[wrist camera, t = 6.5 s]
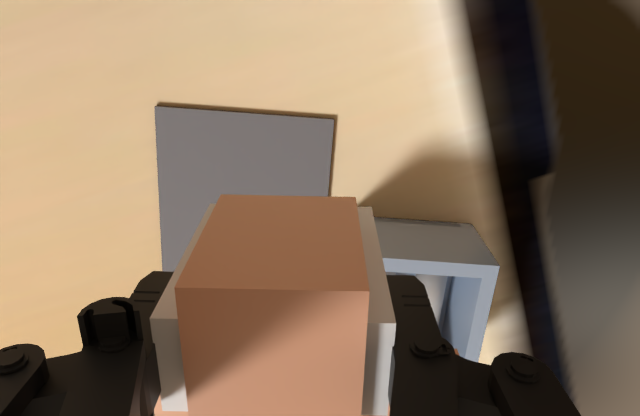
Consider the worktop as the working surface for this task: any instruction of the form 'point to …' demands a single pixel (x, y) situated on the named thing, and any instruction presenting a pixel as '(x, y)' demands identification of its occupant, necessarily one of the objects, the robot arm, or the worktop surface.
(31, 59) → the worktop surface
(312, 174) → the mat
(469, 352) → the tub
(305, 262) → the lid
